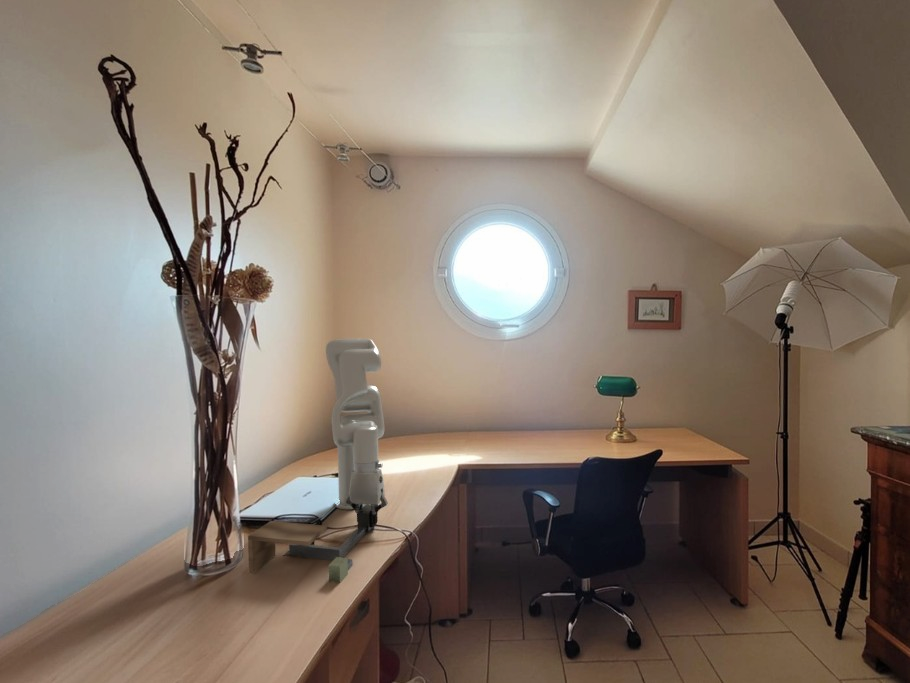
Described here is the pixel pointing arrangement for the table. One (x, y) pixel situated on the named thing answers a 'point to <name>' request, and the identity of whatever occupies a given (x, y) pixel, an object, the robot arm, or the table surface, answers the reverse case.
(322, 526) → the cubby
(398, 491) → the table surface
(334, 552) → the grey angular bent frame
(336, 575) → the pale green block
